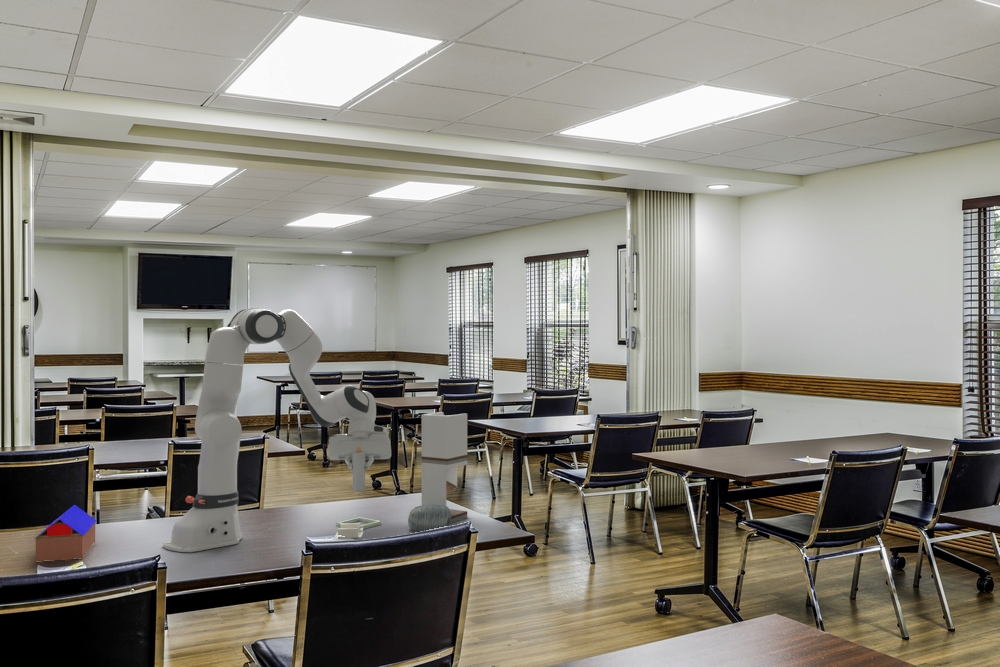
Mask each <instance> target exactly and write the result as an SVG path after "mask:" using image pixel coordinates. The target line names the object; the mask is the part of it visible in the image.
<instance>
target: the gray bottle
mask: <svg viewBox="0 0 1000 667" xmlns="http://www.w3.org/2000/svg"><path fill="white" fill-rule="evenodd" d="M351 461H352V462H351V463H352V466H353V467H352V468H353V470H351V472H352V491H353V492H361V491H365V490H366V470H365V462H366V459H365V452H363V451H361V447H356V452H352V460H351Z"/></svg>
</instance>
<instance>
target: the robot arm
mask: <svg viewBox="0 0 1000 667" xmlns="http://www.w3.org/2000/svg"><path fill="white" fill-rule="evenodd" d="M275 341H276V342H277V343H278V344H279V345H280V346H281V348H282V349H283V351H284V352H285V353H286V354H287V357H288V359H289V364H288V371H289V373H290V376H291V378H292V380H293V382H294V384H295V386H296V388H297V389H298V391H299V393H300V394H301V396H302V398H303V400H304V402H305V404H306V406H307V407H308V410H309V412H310V416H311V417H312V419H313V421H314V422H315V423H316V424H317V425H319V426H321V427H324V428H330V427H332V426H334V425H335V424H337V423H338V422H340V421H342V420H345V419H346V418H347V419H348V420H349V422H348V429H347V433H341V434H338V433H336V434H333V435H331V436H330V437H329V439H328V445H329V446H328V450H327V454H328V455H327V456H328V458H329V460H331V461H344V462H345V463H346V465H347V470H348V471H349V470H351V471H352V470H353V468H352V467H353V466H352V462H351V461H352V452H356V447H361V451H363V452H365V460H367V461H365V471H366V470H370V469H371V466H372V464H373V463H374V461H375V460H389V459H390V458H392V445H391V439H390V437H389V433H388V432H389V431H388V428H387V427H385V426H382V425H381V426H380V425H377V424H376V423H375V421H376V418H377V404H376V398H375V397H374V396H373V394H372V393H371V392H369V391H365V390H362V389H360V388H359V387H357V386H355V385H353V384H347V385H344V386H343V387H340V388H338V389H336V390H334V391H333V392H330V393H328V394H326V395H322V394H321V393H320V392H319V389H318V388H317V386H316V384H315V382H314V381H313V379H312V378H311V374H310V373H311V372H310V371H311V370H312V369H313V368H314V366H315V365H316V364H317V363H318V361H319V360H320V358H321V356H322V354H323V353H322V352H323V344H322V341H321V339H320V337H319V335H318V334H317V333H316V332H315V330H314V329H313V328H312V327H311V326H310V324H309V323H308V322H307V321H306V320H305V319H304V318H303V317H302V316H301V315H300V314H299V313H298V312H297V311H295V310H294V309H291V308H290V309H289V308H288V309H287V308H286V309H283V310H280V311H278V312H274V311H272V310H270V309H267V308H259V307H251V308H246V309H242V310H239V311H238V312H236V314H235V315H234V316H233V317H232V319H231V320H230V321H229V323H228V324H227V326H222V327H218V328H216V329H214V330H213V331H212V332H211V334H210V338H209V340H208V343H207V348H206V352H205V353H206V354H205V360H204V369H203V379H202V387H201V392H200V397H199V400H198V406H197V411H196V416H195V422H194V431H195V434H196V436H197V438H198V439H199V440H200V441H201V445H200V453H199V454H200V455H199V460H198V461H199V462H198V465H197V493H196V495H195V497H194V496H191V495H187V496H186V497H185V502H186V504H192V507H191V508H190V509H189V510H188V511H187V512H185V514H184V515H183V516H181V517H180V518H179V520H178V521H176V522H175V523H174V524H173V528H172V530H171V539H170V540H167V541H164V542H162V547H163V548H164V549H166V550H169V551H173V552H177V553H178V552H180V553H194V552H200V551H204V550H210V549H216V548H221V547H227V546H232V545H237V544H239V543H240V540H242V539H243V533H242V530H241V526H240V522H239V521H240V520H239V512H238V511H239V510H238V507H239V491H238V460H239V454H240V445H241V436H242V424H241V422H240V419H239V418H238V417H237V416H236V415H235V411H236V408H237V404H238V399H239V397H240V393H241V391H242V382H243V375H244V374H243V371H244V364H245V363H244V361H245V353H246V350H247V348H248V347H249V345H265V344H270V343H272V342H275Z"/></svg>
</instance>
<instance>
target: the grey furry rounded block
mask: <svg viewBox="0 0 1000 667" xmlns="http://www.w3.org/2000/svg"><path fill="white" fill-rule="evenodd" d="M449 509H450V508H449V507H448V505H446V506H445V505H437V504H429V505H422V504H421V505H418V506H415V507H413V508H412V509H411V510H410V512H409V513H408V517H407V518H408V519H407V525H408V527H409V529H410V531H413V532H425V531H424V530H429V529H434V528H439V527H444V526H448V527H449V526H450V524H451V523H450V520H451V513H450V510H449Z"/></svg>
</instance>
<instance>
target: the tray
mask: <svg viewBox="0 0 1000 667" xmlns="http://www.w3.org/2000/svg"><path fill="white" fill-rule="evenodd" d="M358 522H362V523H366V524H362V525H361V524H360V529H361V528H363V527H364V529H363V530H365V529H368V528H373V527H376V526H380V525H382V520H377V519H370V518H365V517H361V516H358V517H357V516H356V517H355V518H351V519H345V520H342V521H337V522H335V526H336V527H338V528H340V524H341V523H358Z"/></svg>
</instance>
